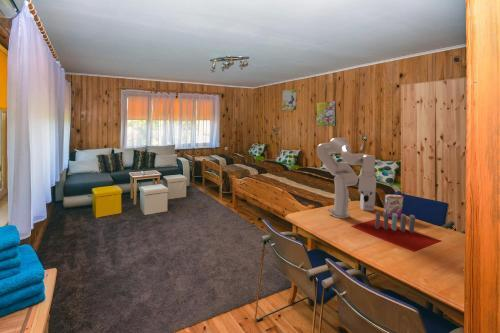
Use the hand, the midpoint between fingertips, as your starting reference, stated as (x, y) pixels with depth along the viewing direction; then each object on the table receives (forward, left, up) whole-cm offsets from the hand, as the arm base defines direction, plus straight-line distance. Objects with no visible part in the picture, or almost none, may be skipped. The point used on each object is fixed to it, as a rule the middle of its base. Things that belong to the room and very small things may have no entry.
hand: (365, 201), depth 187 cm
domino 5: (+28, 0, -17) cm, 33 cm away
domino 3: (+18, 0, -17) cm, 25 cm away
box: (+5, +41, -17) cm, 45 cm away
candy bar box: (+21, +25, -17) cm, 37 cm away
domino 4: (+23, 0, -17) cm, 28 cm away
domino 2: (+13, 0, -17) cm, 21 cm away
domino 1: (+8, 0, -17) cm, 19 cm away
